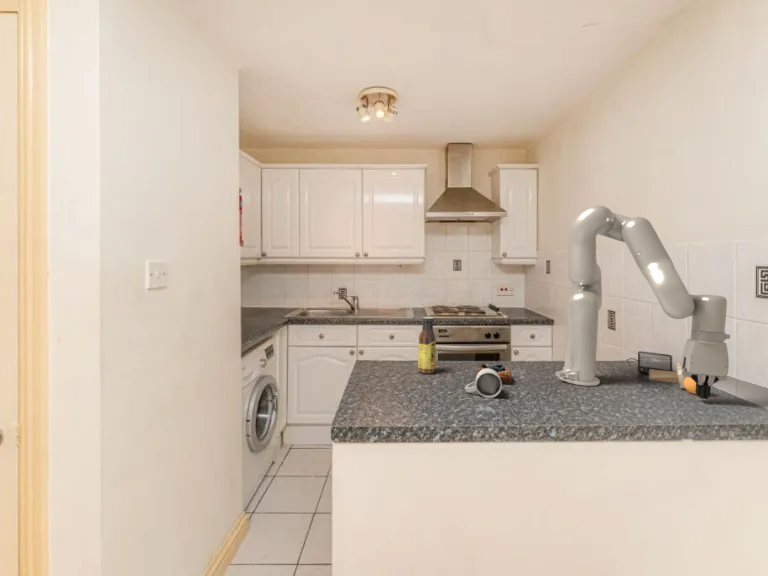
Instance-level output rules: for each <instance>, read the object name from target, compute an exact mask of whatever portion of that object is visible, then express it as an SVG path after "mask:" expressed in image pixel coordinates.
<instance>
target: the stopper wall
mask: <svg viewBox="0 0 768 576" xmlns="http://www.w3.org/2000/svg"><path fill="white" fill-rule="evenodd" d="M648 380H650V381H654V382H664V383H674V384H679V379H678V374H677V371H670V370H661V369H652V368H651V369H650V368H649V370H648Z"/></svg>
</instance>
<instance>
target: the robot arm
mask: <svg viewBox="0 0 768 576" xmlns="http://www.w3.org/2000/svg"><path fill="white" fill-rule="evenodd" d="M568 232H569V233H568V251H567V253H568V259H567V260H568V272H567V273H568V279H569V280H570V281H571V285H572V287H571V290H572V293H571V295H570V296H569V297H568V300H567V302H566V332H565V352H564V366H563V367H562V370H557V371H556V372H555V376H556V377H557V378H559V379H560V380H561V381H563V382H565V383H569V384H571V385H572V384H573V385H576V386H577V385H578V386H585V387H586V386H587V387H592V386H593V387H594V386H598V385H600V379H599V378H597V377H595V376H596V363H597V349H598V348H597V347H598V331H599V330H598V328H599V327H598V326H599V324H598V323H599V311H600V309H601V307H602V304H603V301H602V299H603V298H602V297H603V295H602V294H603V293H602V289H603V288H602V270H601V268H600V266H599V264H598V263H597V236H598V235H600V236H602V237H605V238H609V239H613V240H616V241H619V242H622V243H625V244H626V246H627V249H628V250H629V251H630V252H629V253H630V254H631V255H632V258H633V259H634V262H635V263H636V265H637V267H638V269H639V271H640V272H641V274H642V276H643V277H644V278H645V279H646V281H647V282H648V284H649V286H650V288H651V289H652V292H653V293H654V295H655V298H656V299H657V301H658V303H659V305H660V307H661V309H662V310H663V313H664V314H665V315H667V316H668V317H670V318H672V319H676V320H682V319H686V318H688V317H691V330H690V338H687V339H686V341H685V344H684V348H683V351H682V358H681V362H680V363H681V367H682V369H683V371H682V375H684V376H686V377H689V378H692V379H693V380H694V381H695V382H696V394H695V395H696V396H697V397H698V398H700V399H702V400H703V399H705V400H709V397H710V396H711V387H713V386H714V384H715V383H718V382H719V381H720V382H721V381H727V380H728V373H729V365H730V364H729V363H730V362H729V351H728V345H727V343H726V342H725V341H726V340H729V339H730V338H731V335H730V334H727V333H726V332H725V331H726V320H727V318H726V317H727V307H728V300H727V298H726V297H725V296H722V295H715V294H714V295H712V294H711V295H710V294H699V295H696V294H690V292H689V291H688V290H687V288H686V286H685V284H684V282H683V281H682V279H681V277H680V275H679V273H678V271H677V269H676V268H675V264H674V263H673V261H672V259H671V257H670V255H669V253H668V251H667V249H666V248H665V246H664V244H663V243H662V241H661V239H660V237H659V236H658V233H657V232H656V229H655V228H654V226H653V225H652V223H651V222H650V220H648V219H647V218H645V217H643V216H642V217H641V216H635V217H629V216H625V215H622V214H619V213H615V212H612V210H611V209H610V208H608V207H607V206H604V205H599V204H598V205H593V206H590V207H588V208H586V209H584V210H582V212H580V213H579V214H578V215H577V216H576V217H575V218H574V220H573V221H572V223H571V226H570V228H569V231H568ZM703 378H704V382H703Z"/></svg>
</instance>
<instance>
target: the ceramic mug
mask: <svg viewBox="0 0 768 576" xmlns="http://www.w3.org/2000/svg"><path fill="white" fill-rule="evenodd" d="M475 376H476V375H475ZM502 388H503V384H502V381H501V379H500V377H499V375H498V373H497V372H496V371H494V370H492V369H489V368H486V369H482V370H481V371H479V372H478V374H477V376H476V377H475V381H472V382H469V383H468V384H466V385H465V386H464V390H465V392H466V393H469V394H470V393H474V392H477V393H478V394H479V395H480V396H482V397H483V398H486V399H489V398H490V399H491V398H492V399H493V398H495V397H497V396H499V394H500V393H501V392H502Z"/></svg>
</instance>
